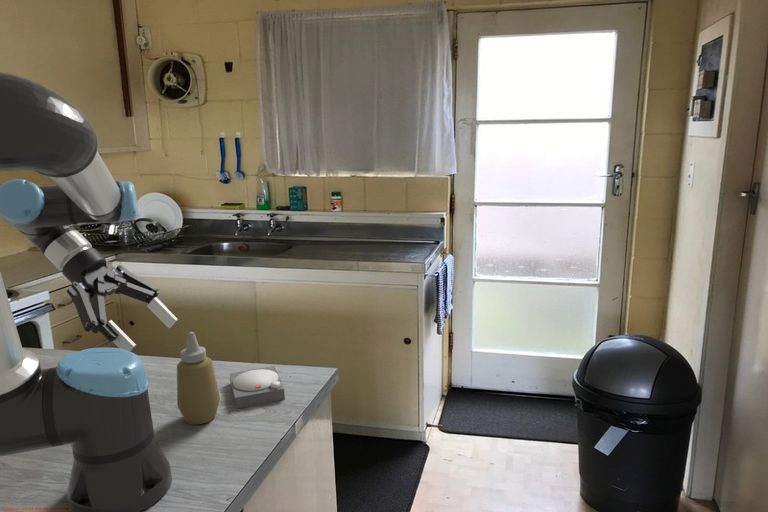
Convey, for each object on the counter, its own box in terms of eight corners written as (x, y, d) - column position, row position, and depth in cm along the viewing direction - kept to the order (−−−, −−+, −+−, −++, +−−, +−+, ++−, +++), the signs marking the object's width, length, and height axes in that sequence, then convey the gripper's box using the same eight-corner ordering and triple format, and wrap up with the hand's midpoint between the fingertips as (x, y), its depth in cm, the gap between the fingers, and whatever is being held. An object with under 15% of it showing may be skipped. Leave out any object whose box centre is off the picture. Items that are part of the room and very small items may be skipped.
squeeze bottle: (228, 408, 116) (220, 326, 112) (210, 429, 108) (200, 342, 104) (192, 406, 118) (182, 324, 113) (171, 427, 110) (160, 340, 105)
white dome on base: (284, 399, 119) (283, 385, 119) (236, 408, 116) (234, 394, 115) (275, 375, 130) (274, 362, 130) (230, 383, 127) (229, 370, 126)
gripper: (110, 256, 125) (178, 325, 125) (15, 290, 101) (99, 375, 101) (128, 233, 122) (198, 303, 122) (34, 263, 99) (121, 350, 99)
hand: (153, 336), depth 112 cm, fingers open, 13 cm apart
